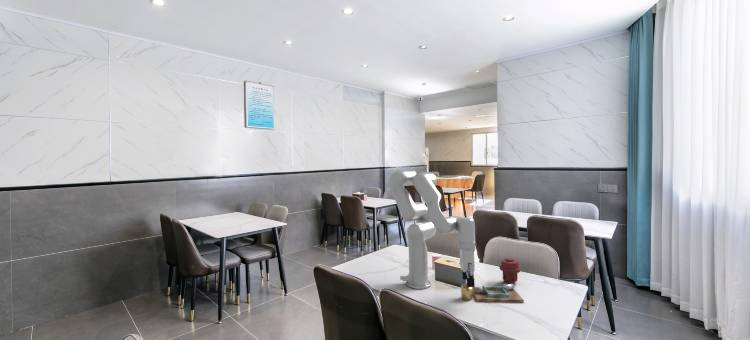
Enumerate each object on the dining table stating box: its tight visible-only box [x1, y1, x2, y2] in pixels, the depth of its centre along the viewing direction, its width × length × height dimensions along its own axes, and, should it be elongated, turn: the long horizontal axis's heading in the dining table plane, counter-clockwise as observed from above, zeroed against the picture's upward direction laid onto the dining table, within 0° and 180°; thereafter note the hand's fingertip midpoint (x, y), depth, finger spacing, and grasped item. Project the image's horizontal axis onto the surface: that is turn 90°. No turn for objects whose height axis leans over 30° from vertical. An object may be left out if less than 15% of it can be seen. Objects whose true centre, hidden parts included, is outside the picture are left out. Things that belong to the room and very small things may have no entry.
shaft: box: [501, 283, 515, 292], centre depth 152 cm, size 5×4×4 cm
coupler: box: [460, 283, 473, 302], centre depth 146 cm, size 5×5×6 cm
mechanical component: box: [499, 257, 522, 285], centre depth 165 cm, size 12×10×10 cm
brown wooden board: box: [472, 285, 525, 304], centre depth 149 cm, size 20×14×4 cm
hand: (468, 282), depth 145 cm, fingers open, 9 cm apart
